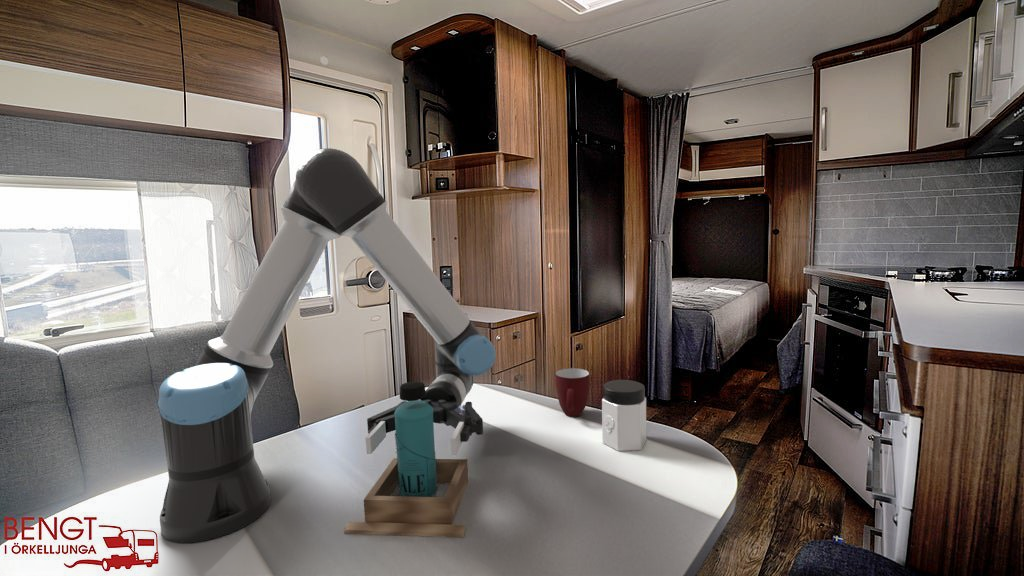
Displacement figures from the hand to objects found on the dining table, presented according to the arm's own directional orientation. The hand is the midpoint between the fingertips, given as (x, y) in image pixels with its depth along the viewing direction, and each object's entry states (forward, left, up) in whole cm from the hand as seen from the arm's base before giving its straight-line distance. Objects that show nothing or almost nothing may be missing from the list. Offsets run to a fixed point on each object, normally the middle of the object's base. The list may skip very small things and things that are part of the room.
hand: (410, 446), depth 75 cm
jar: (+36, +26, -11) cm, 46 cm away
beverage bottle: (0, +3, -11) cm, 12 cm away
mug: (+26, +40, -11) cm, 49 cm away
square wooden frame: (0, +2, -11) cm, 11 cm away
